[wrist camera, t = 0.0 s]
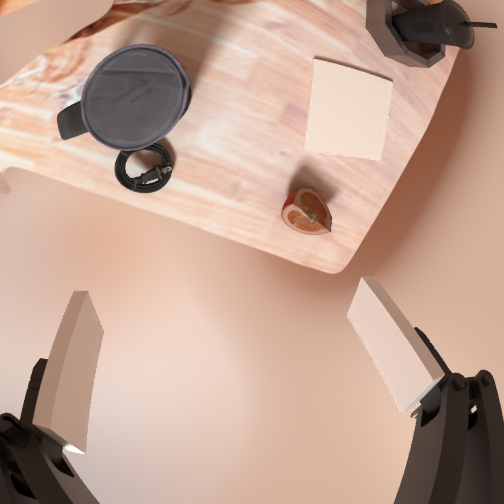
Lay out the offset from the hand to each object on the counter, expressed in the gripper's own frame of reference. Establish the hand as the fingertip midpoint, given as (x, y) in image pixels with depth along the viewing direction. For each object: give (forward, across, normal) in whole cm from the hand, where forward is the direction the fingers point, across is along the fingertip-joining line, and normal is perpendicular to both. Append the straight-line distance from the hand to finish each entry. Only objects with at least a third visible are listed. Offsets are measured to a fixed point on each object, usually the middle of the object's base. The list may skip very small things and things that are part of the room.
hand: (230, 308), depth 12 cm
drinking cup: (+28, +29, +27) cm, 49 cm away
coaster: (+28, +21, +9) cm, 36 cm away
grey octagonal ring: (+28, +29, +27) cm, 48 cm away
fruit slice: (+28, +15, -7) cm, 33 cm away
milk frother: (+28, -7, +5) cm, 30 cm away
